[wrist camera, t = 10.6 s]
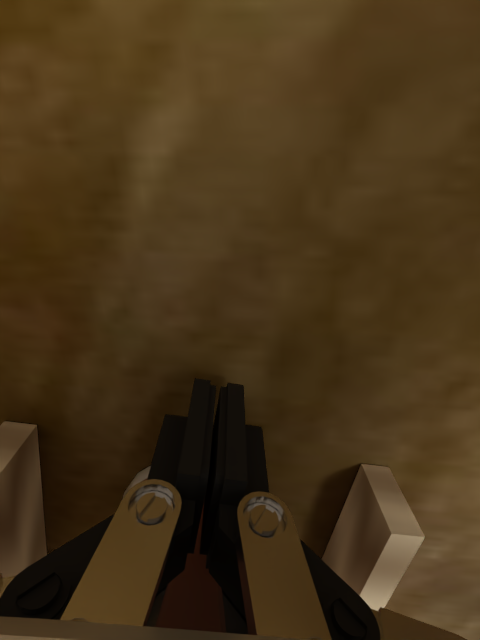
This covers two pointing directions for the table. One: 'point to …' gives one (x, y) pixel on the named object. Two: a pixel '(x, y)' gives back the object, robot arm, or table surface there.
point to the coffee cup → (189, 589)
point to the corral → (340, 555)
